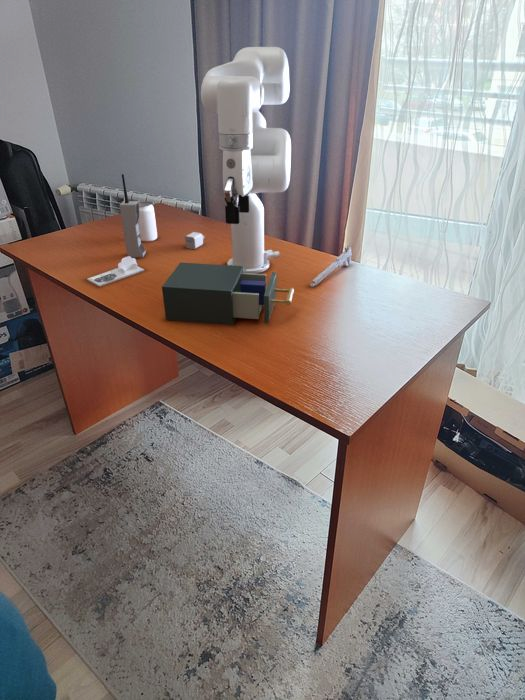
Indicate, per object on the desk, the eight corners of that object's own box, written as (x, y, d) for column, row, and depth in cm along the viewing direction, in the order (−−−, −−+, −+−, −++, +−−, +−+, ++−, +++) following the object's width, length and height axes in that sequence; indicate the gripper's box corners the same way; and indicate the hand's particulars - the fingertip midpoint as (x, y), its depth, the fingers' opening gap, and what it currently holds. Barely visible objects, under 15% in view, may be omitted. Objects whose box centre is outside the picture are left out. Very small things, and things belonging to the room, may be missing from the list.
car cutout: (131, 264, 152) (129, 250, 149) (144, 270, 148) (142, 256, 145) (87, 280, 142) (83, 265, 140) (99, 286, 139) (96, 271, 136)
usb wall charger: (185, 247, 163) (184, 235, 161) (198, 240, 169) (197, 229, 166) (195, 249, 162) (194, 237, 160) (207, 242, 167) (207, 231, 165)
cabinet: (244, 297, 132) (243, 266, 128) (232, 325, 120) (231, 291, 115) (183, 293, 135) (180, 262, 130) (165, 319, 122) (161, 286, 118)
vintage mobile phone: (143, 257, 156) (131, 175, 142) (127, 257, 156) (114, 175, 143) (146, 253, 159) (134, 172, 146) (130, 253, 159) (117, 172, 146)
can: (137, 236, 172) (132, 201, 166) (156, 234, 174) (152, 200, 167) (139, 243, 167) (134, 207, 161) (158, 240, 169) (154, 205, 162)
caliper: (347, 264, 151) (349, 244, 148) (350, 264, 151) (352, 245, 147) (309, 286, 138) (310, 265, 134) (312, 287, 137) (313, 266, 134)
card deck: (265, 300, 126) (265, 281, 123) (264, 305, 124) (264, 285, 121) (242, 299, 127) (242, 279, 124) (240, 303, 125) (240, 283, 122)
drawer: (295, 298, 130) (296, 273, 126) (289, 324, 118) (289, 297, 114) (218, 293, 132) (216, 268, 129) (205, 318, 121) (203, 291, 117)
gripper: (242, 148, 103) (244, 229, 112) (260, 136, 118) (260, 209, 127) (208, 147, 105) (212, 227, 114) (229, 135, 119) (232, 207, 128)
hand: (237, 217), depth 120 cm, fingers open, 9 cm apart
